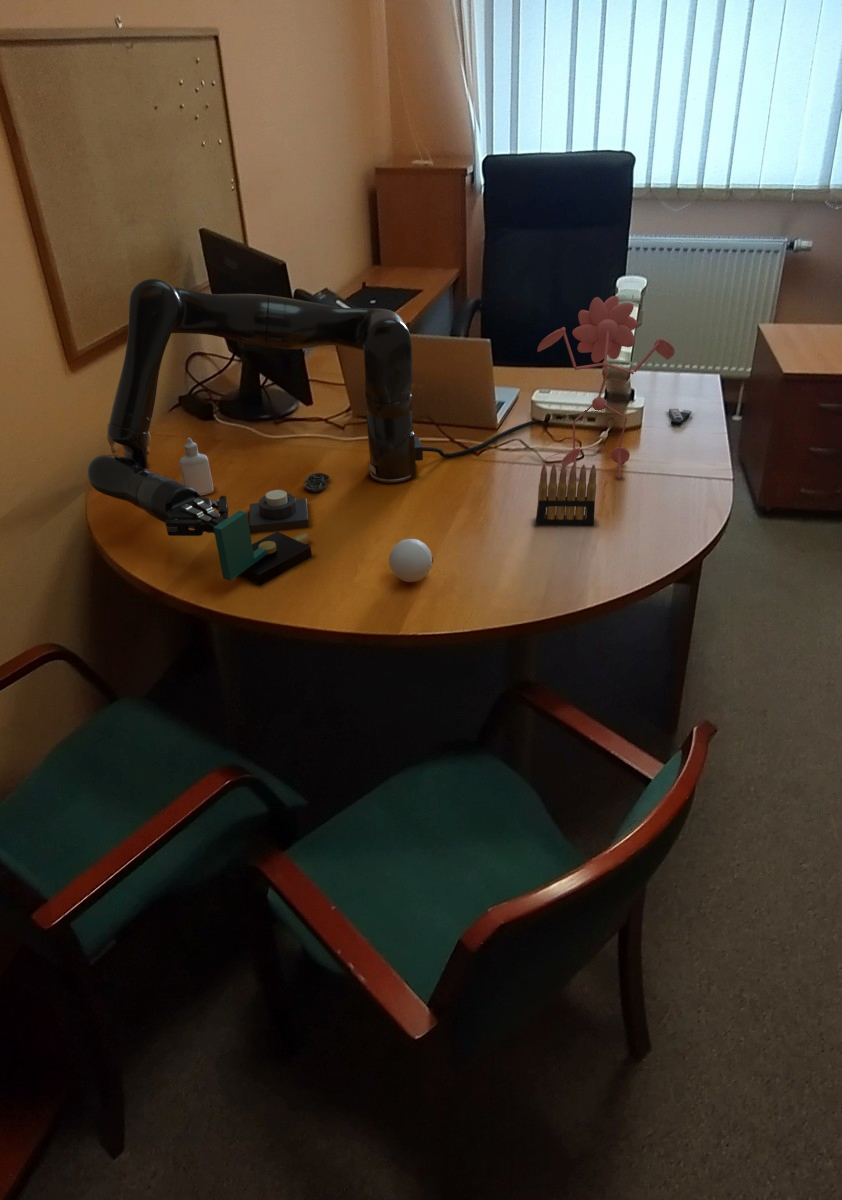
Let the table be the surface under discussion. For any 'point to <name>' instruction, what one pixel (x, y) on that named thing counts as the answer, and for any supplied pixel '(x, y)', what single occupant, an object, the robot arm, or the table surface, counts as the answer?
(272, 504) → the button
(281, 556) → the valve block
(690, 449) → the table surface
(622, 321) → the flower sculpture
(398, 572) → the white sphere
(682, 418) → the usb flash drive
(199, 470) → the eye dropper bottle
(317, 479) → the corroded twin loop
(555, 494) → the ammunition clip
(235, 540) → the valve lever
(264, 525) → the button housing
